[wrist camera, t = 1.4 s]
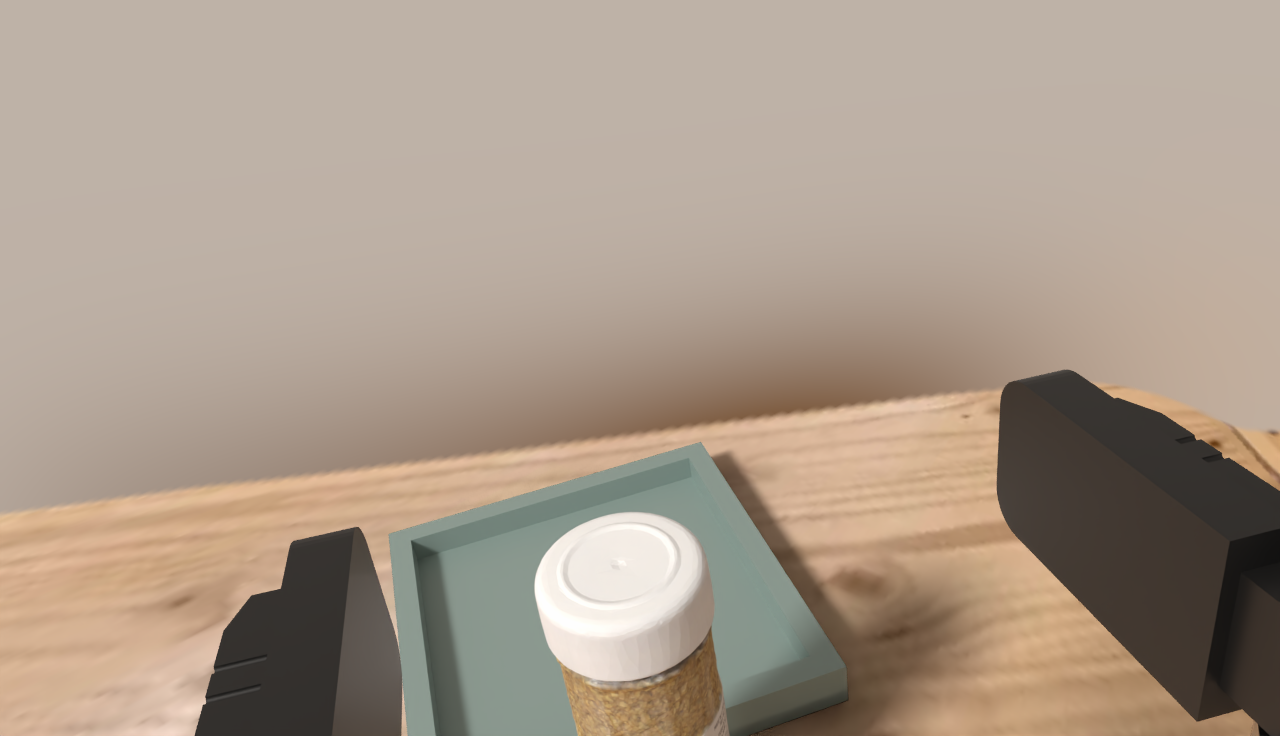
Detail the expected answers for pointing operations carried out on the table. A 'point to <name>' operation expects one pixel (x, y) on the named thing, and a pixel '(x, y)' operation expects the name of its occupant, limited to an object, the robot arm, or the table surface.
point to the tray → (511, 626)
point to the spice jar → (633, 627)
